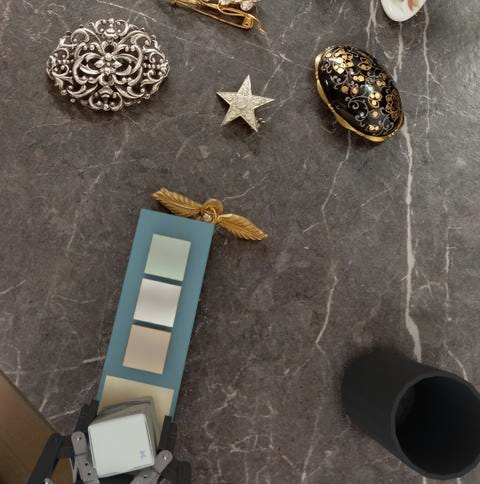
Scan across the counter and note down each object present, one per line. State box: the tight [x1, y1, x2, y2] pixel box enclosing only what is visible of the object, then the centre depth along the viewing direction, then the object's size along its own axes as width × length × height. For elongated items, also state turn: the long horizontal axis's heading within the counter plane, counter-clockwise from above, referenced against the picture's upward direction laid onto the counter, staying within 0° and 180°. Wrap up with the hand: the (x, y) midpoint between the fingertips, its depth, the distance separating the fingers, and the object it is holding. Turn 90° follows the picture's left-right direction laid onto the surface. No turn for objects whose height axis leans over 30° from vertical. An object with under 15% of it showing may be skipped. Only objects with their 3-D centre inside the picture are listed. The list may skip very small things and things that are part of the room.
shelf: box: [88, 207, 216, 471], centre depth 106 cm, size 25×8×28 cm, turn 168°
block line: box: [89, 233, 191, 449], centre depth 90 cm, size 22×7×4 cm, turn 168°
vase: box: [340, 350, 480, 482], centre depth 104 cm, size 10×10×30 cm
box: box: [88, 396, 160, 478], centre depth 81 cm, size 5×4×13 cm
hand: (130, 413), depth 82 cm, fingers closed on box, 6 cm apart
